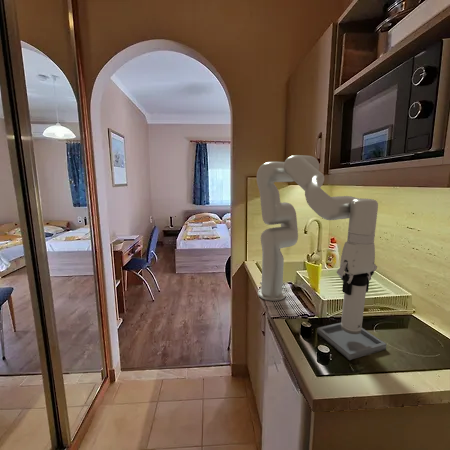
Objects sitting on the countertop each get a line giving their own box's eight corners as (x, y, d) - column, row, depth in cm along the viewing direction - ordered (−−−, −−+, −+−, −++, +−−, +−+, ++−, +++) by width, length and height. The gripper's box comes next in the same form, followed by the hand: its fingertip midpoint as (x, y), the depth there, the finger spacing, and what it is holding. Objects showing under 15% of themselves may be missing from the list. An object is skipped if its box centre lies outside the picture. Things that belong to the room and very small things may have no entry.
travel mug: (364, 336, 88) (371, 277, 84) (342, 333, 89) (349, 275, 85) (359, 325, 94) (365, 270, 90) (338, 323, 95) (344, 268, 91)
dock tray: (316, 333, 96) (317, 327, 96) (350, 325, 102) (350, 320, 101) (349, 360, 83) (350, 354, 82) (385, 349, 88) (386, 343, 87)
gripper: (371, 233, 92) (365, 283, 95) (329, 237, 86) (325, 291, 89) (391, 238, 85) (384, 292, 88) (348, 243, 79) (342, 301, 82)
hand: (355, 291), depth 89 cm, fingers closed on travel mug, 6 cm apart
